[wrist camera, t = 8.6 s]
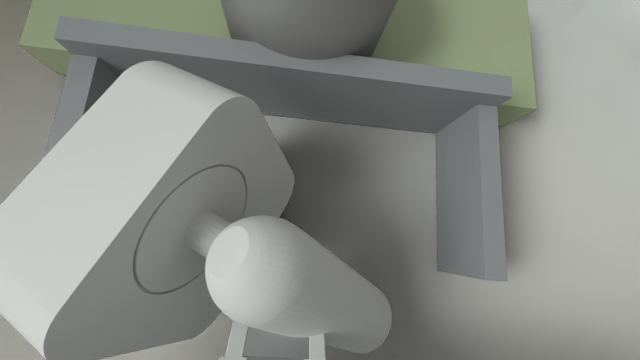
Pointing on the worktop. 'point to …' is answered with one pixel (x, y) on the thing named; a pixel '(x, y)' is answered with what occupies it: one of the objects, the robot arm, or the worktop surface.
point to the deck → (329, 79)
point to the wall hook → (170, 231)
